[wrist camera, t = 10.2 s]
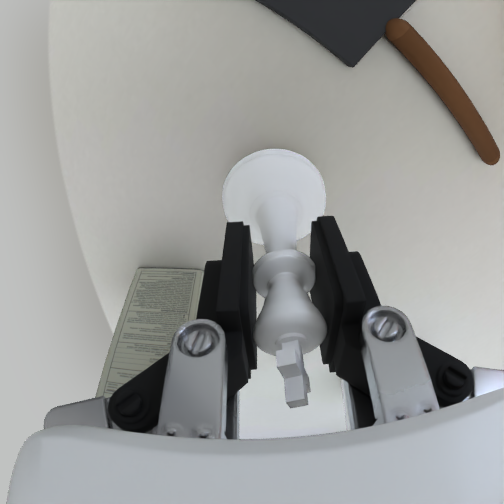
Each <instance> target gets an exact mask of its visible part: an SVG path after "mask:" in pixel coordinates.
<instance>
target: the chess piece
mask: <svg viewBox="0 0 504 504" xmlns="http://www.w3.org/2000/svg"><path fill="white" fill-rule="evenodd" d="M222 200H223V208H224V212H225V215H226V218H227V220H228V222H240V221H243V223H244V225H250V233H251V242H254V243H257V244H261V245H264V246H265V250H266V255H264V256H262V257H261V258H260V259H259V260H258V261H257V262H256V263H255V265H254V266H253V269H252V274H253V285H254V287H255V289H256V291H257V292H258V293H259V294H260V295H261V296H262V297H264V298H265V301H264V306H263V308H262V311H261V313H260V314H259V316H258V318H257V321H256V324H255V327H254V331H253V338H254V341H255V343H256V345H257V346H258V347H259V348H260V349H261V350H262V351H264V352H266V353H268V354H270V355H274V356H276V361H277V368H278V370H279V371H280V373H281V374H282V376H283V378H284V382H285V398H286V403H287V404H288V406H289V407H290V408H295V407H300V406H306V405H308V398H307V393H309V392H311V391H310V382H309V377H308V375H307V373H306V371H305V369H304V362H303V354H306V353H308V352H311V351H312V350H314V349H315V348H317V347H318V346H319V345H320V344H321V343H322V342H323V341H324V339H325V337H326V334H327V325H326V322H325V320H324V318H323V316H322V315H321V313H320V311H319V310H318V309H317V308H316V307H315V306H314V304H313V303H312V301H311V300H310V298H309V296H308V294H307V293H308V292H309V291H310V290H311V289H312V287H313V286H314V283H315V279H316V275H315V264H314V262H313V261H312V259H311V258H310V257H309V256H307V255H306V254H304V253H302V252H300V251H296V241H298V240H300V239H302V238H303V237H305V236H306V235H308V234H309V233H310V232H311V222H312V221H317V217H320V216H323V214H324V211H325V206H326V192H325V185H324V182H323V179H322V176H321V174H320V173H319V171H318V169H317V168H316V167H315V166H314V165H313V164H312V163H311V162H310V161H309V160H308V159H306V158H305V157H303V156H302V155H300V154H298V153H295V152H293V151H289V150H284V149H265V150H261V151H257V152H254V153H252V154H250V155H248V156H246V157H244V158H243V159H242V160H240V161H239V162H238V163H237V164H236V165H235V166H234V167H233V168H232V169H231V171H230V172H229V174H228V175H227V177H226V180H225V182H224V186H223V191H222Z"/></svg>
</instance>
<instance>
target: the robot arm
mask: <svg viewBox="0 0 504 504" xmlns="http://www.w3.org/2000/svg"><path fill="white" fill-rule="evenodd" d="M310 258H311V259H312V261H313V262H314V264H315V275H316V279H315V283H314V286H313V287H312V289H311V290H310V294H311V299H312V303H313V304H314V306H315V307H316V308H317V309H318V310H319V311H320V313H321V315H322V316H323V318H324V320H325V322H326V325H327V334H326V337H325V339H324V341H323V342H322V343H321V344H320V350H321V356H322V361H323V364H329V370H330V372H336V375H337V376H338V377H340V378H341V379H343V380H344V389H345V395H346V401H347V408H348V415H349V422H350V429H351V430H348V431H342V432H335V433H328V434H320V435H311V436H301V437H289V438H273V439H239V390H240V389H241V388H242V387H243V386H244V385H246V384H247V383H248V379H251V370H253V369H257V345H256V343H255V341H254V338H253V331H254V327H255V324H256V289H255V287H254V285H253V274H252V269H253V266H254V263H253V253H252V243H251V233H250V225H244V223H243V221H240V222H227V226H226V233H225V241H224V249H223V257H222V260H218V261H207V262H206V265H205V270H204V276H203V281H202V287H201V293H200V298H199V304H198V310H197V316H196V320H191V321H189V322H187V323H185V324H183V325H182V326H180V327H179V328H178V329H177V331H176V332H175V333H174V336H173V338H172V342H171V347H170V352H169V353H168V354H166V355H165V356H163V357H162V358H161V359H159V360H158V361H156V362H155V363H154V364H152V365H151V366H149V367H148V368H147V369H145V370H144V371H142V372H141V373H140V374H138V375H137V376H135V377H134V378H132V379H131V380H129V381H128V382H127V383H125V384H124V385H122V386H121V387H119V388H118V389H117V390H116V391H115V392H114V393H113V394H112V396H111V397H108V398H105V397H104V396H100V397H96V398H92V399H88V400H84V401H80V402H75V403H71V404H66V405H62V406H57V407H55V408H53V409H51V410H50V411H49V412H48V413H47V415H46V417H45V419H44V429H43V430H40V431H38V432H36V433H34V434H32V435H31V436H30V437H28V439H27V440H26V441H25V442H24V444H23V446H22V448H21V449H20V452H19V454H18V457H17V460H16V462H15V465H14V469H13V472H12V476H11V481H10V485H9V491H8V496H7V502H6V504H504V370H497V369H489V368H481V367H473V368H472V369H469V368H468V367H467V365H466V364H464V363H463V362H462V361H460V360H458V359H456V358H455V357H453V356H451V355H449V354H447V353H445V352H444V351H442V350H440V349H438V348H436V347H434V346H433V345H431V344H429V343H427V342H425V341H423V340H422V339H420V338H418V337H416V336H415V333H414V331H413V328H412V325H411V323H410V321H409V319H408V318H407V316H406V315H405V314H404V313H403V312H402V311H400V310H398V309H396V308H394V307H390V306H381V304H380V301H379V299H378V296H377V294H376V291H375V289H374V286H373V284H372V281H371V279H370V276H369V274H368V272H367V269H366V267H365V265H364V262H363V260H362V258H361V255H360V254H359V252H357V251H356V252H348V249H347V247H346V244H345V242H344V239H343V237H342V235H341V232H340V230H339V227H338V225H337V223H336V220H335V218H334V216H320V217H317V221H312V222H311V244H310Z"/></svg>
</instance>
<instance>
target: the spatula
mask: <svg viewBox="0 0 504 504" xmlns="http://www.w3.org/2000/svg"><path fill="white" fill-rule="evenodd" d="M256 1H258V2H259V3H261V4H263V5H264V6H266V7H268V8H269V9H271V10H273V11H274V12H276V13H277V14H279V15H280V16H282V17H284V18H285V19H287V20H288V21H290V22H291V23H293V24H294V25H295V26H297V27H298V28H300V29H301V30H303V31H304V32H305V33H307V34H308V35H309V36H311V37H312V38H314V39H315V40H316V41H318V42H319V43H320V44H321V45H323V46H324V47H325V48H327V49H328V50H329V51H330V52H332V53H333V54H334V55H335V56H337V57H338V58H339V59H340V60H341V61H343V62H344V63H345V64H346V65H347V66H349V67H354V66H355V65H356V64H357V63H358V62H359V61H360V60H361V58H362V57H363V56H364V55H365V54H366V53H367V52H368V51H369V50H370V49H371V47H372V46H373V45H374V44H375V43H376V42H377V41H378V40H379V39H380V38H381V37H382V35H383V34H384V33H385V35H386V37H387V38H388V40H389V41H390V42H391V43H392V44H393V45H394V46H395V47H396V48H397V49H398V50H399V51H400V52H401V53H402V54H403V55H404V56H405V57H406V58H407V59H408V60H409V61H410V62H411V63H412V65H413V66H414V67H415V68H416V69H417V70H418V71H419V72H420V74H421V75H422V76H423V77H424V78H425V79H426V81H427V82H428V83H429V84H430V85H431V87H432V88H433V89H434V90H435V92H436V93H437V94H438V95H439V97H440V98H441V99H442V101H443V102H444V103H445V105H446V106H447V107H448V109H449V110H450V111H451V113H452V114H453V116H454V117H455V118H456V120H457V121H458V123H459V124H460V126H461V127H462V129H463V130H464V132H465V133H466V135H467V136H468V138H469V139H470V141H471V143H472V144H473V146H474V147H475V149H476V151H477V152H478V154H479V156H480V157H481V159H482V160H483V162H484V163H486V164H488V165H494V164H496V163H497V162H498V161H499V158H500V151H499V149H498V147H497V145H496V143H495V141H494V139H493V137H492V135H491V134H490V132H489V130H488V128H487V126H486V125H485V123H484V121H483V120H482V118H481V116H480V115H479V113H478V111H477V110H476V108H475V107H474V105H473V103H472V102H471V100H470V99H469V97H468V96H467V94H466V93H465V91H464V90H463V89H462V87H461V86H460V84H459V83H458V81H457V80H456V79H455V77H454V76H453V75H452V73H451V72H450V71H449V69H448V68H447V67H446V65H445V64H444V63H443V62H442V60H441V59H440V58H439V57H438V55H437V54H436V53H435V52H434V51H433V49H432V48H431V47H430V46H429V45H428V44H427V42H426V41H425V40H424V39H423V38H422V37H421V36H420V35H419V34H418V32H417V31H416V30H415V29H414V28H413V27H412V26H411V25H410V24H409V23H408V22H407V21H405V20H403V19H399V17H400V16H401V15H402V14H403V13H404V12H405V11H406V10H407V9H408V8H409V7H410V6H411V5H412V4H413V3H414V2H415V1H416V0H256Z"/></svg>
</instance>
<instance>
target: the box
mask: <svg viewBox="0 0 504 504" xmlns="http://www.w3.org/2000/svg"><path fill="white" fill-rule="evenodd" d="M203 276H204V272H203V271H202V270H193V269H162V268H138V269H137V271H136V274H135V276H134V279H133V281H132V284H131V286H130V289H129V292H128V295H127V298H126V300H125V303H124V306H123V309H122V312H121V315H120V317H119V320H118V323H117V326H116V329H115V332H114V336H113V339H112V342H111V345H110V348H109V352H108V355H107V358H106V361H105V364H104V368H103V371H102V375H101V378H100V382H99V385H98V389H97V393H96V397H100V396H104V397H105V398H108V397H111V396H112V394H113V393H114V392H115V391H116V390H117V389H118V388H119V387H121V386H122V385H124V384H125V383H127V382H128V381H129V380H131V379H132V378H134V377H135V376H137V375H138V374H140V373H141V372H142V371H144V370H145V369H147V368H148V367H149V366H151V365H152V364H154V363H155V362H156V361H158V360H159V359H161V358H162V357H163V356H165V355H166V354H168V353H169V352H170V347H171V342H172V338H173V336H174V333H175V332H176V331H177V329H178V328H179V327H180V326H182V325H183V324H185V323H187V322H189V321H191V320H196V316H197V310H198V304H199V298H200V293H201V287H202V281H203ZM96 397H95V398H96Z"/></svg>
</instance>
